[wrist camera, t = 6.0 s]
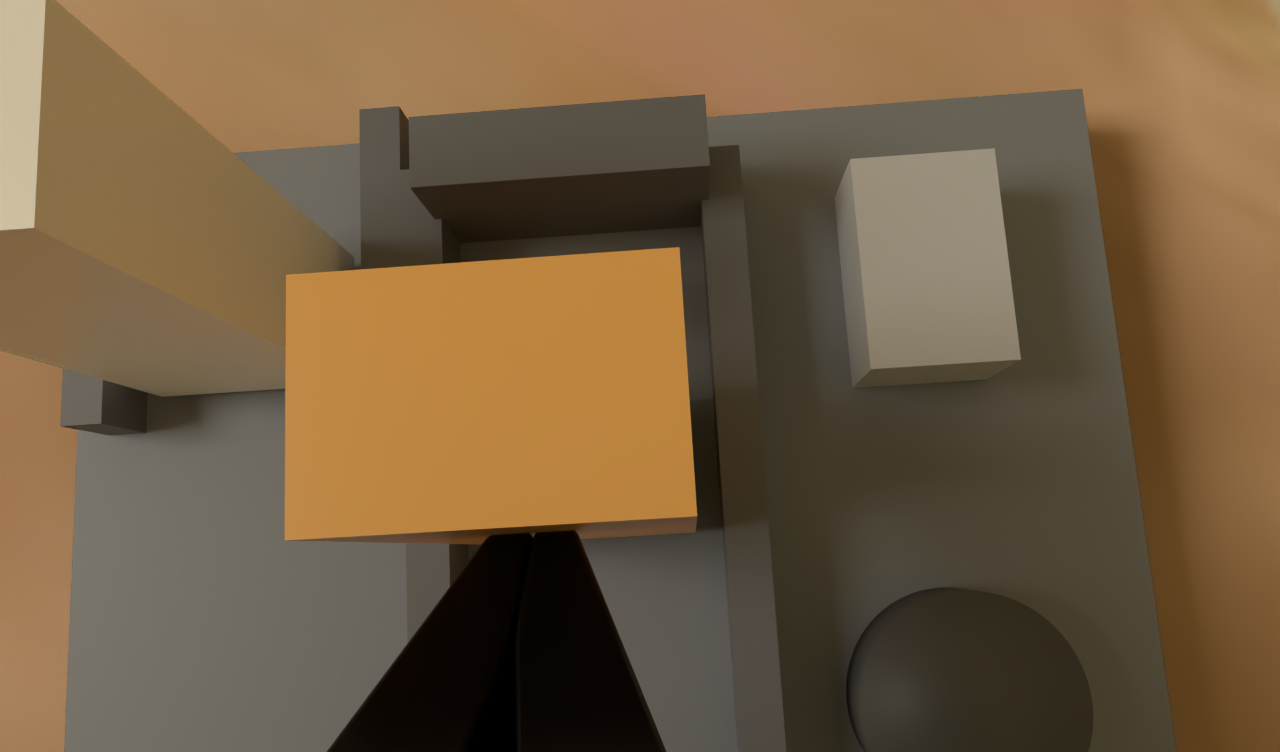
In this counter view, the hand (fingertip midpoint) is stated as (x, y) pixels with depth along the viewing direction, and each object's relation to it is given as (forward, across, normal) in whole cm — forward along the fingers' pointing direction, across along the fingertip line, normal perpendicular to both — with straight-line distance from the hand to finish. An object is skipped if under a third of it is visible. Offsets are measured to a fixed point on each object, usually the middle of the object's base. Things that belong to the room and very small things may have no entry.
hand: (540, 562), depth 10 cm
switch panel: (+5, 0, +4) cm, 7 cm away
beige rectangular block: (+6, +5, +1) cm, 8 cm away
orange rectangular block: (+4, 0, +3) cm, 5 cm away
